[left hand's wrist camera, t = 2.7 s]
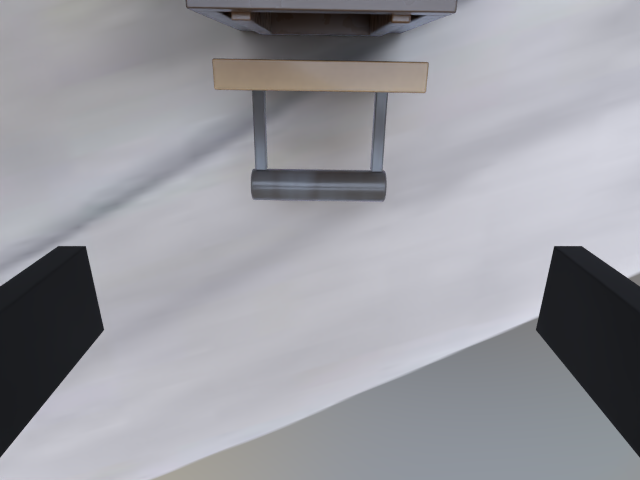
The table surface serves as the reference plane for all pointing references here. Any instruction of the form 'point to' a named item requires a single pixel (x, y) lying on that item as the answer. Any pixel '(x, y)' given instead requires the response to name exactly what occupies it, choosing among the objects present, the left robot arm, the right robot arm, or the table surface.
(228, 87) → the drawer
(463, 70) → the table surface
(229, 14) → the cabinet
